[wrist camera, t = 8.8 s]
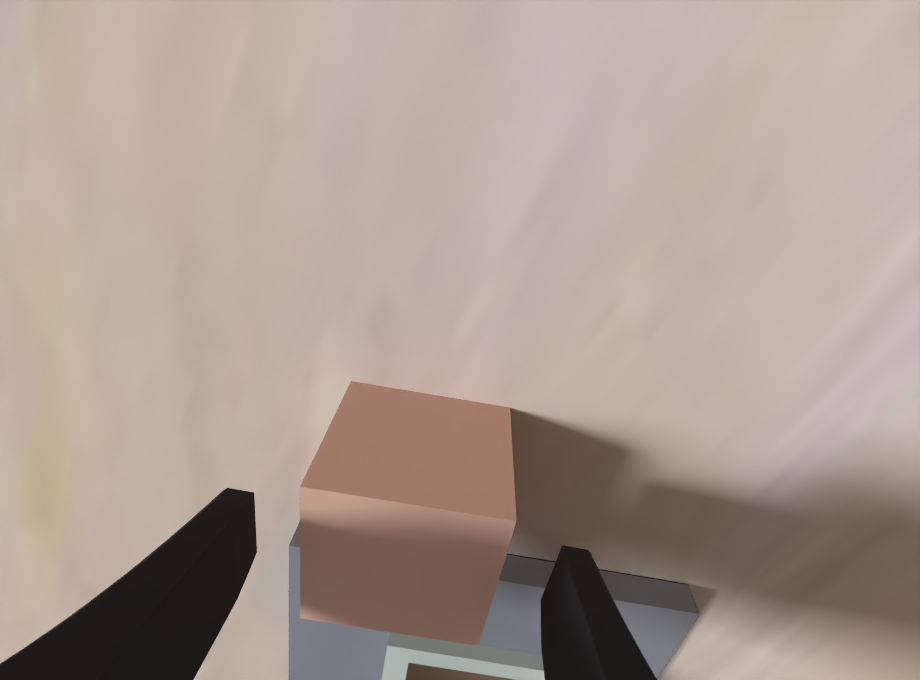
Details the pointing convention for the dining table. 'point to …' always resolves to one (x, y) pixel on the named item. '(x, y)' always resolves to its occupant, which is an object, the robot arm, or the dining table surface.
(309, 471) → the terracotta block
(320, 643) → the slate baseplate
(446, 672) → the walnut block
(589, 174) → the dining table surface
